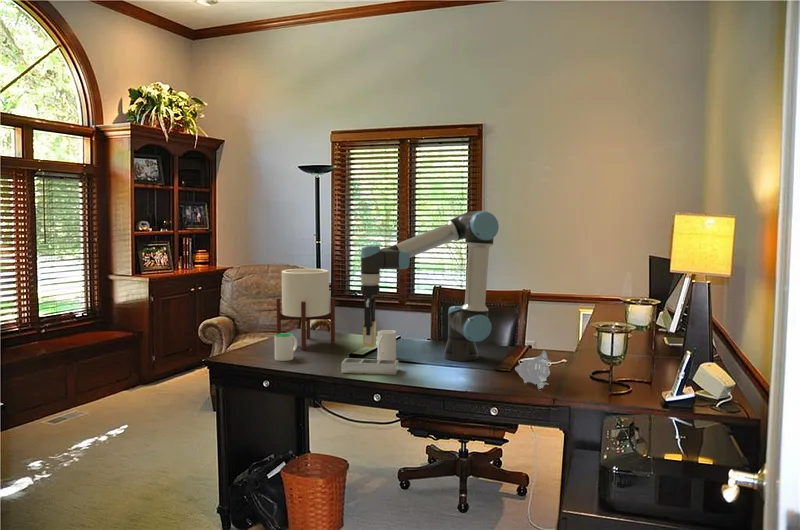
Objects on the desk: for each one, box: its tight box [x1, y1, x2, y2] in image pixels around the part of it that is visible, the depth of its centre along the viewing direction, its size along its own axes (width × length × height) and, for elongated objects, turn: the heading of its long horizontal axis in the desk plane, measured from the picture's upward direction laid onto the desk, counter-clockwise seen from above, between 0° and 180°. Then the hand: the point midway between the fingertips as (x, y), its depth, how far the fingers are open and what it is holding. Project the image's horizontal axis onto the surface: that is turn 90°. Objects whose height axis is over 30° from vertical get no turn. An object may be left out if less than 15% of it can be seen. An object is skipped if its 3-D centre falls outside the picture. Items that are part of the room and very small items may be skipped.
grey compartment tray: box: [340, 357, 399, 376], centre depth 254 cm, size 22×8×4 cm, turn 83°
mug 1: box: [273, 332, 298, 362], centre depth 276 cm, size 12×8×10 cm
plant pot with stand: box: [275, 268, 336, 352], centre depth 303 cm, size 22×22×36 cm
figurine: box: [514, 350, 552, 390], centre depth 233 cm, size 10×15×14 cm
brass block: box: [362, 319, 377, 348], centre depth 253 cm, size 4×4×10 cm
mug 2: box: [376, 329, 397, 360], centre depth 274 cm, size 12×8×12 cm
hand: (369, 341), depth 253 cm, fingers closed on brass block, 4 cm apart
